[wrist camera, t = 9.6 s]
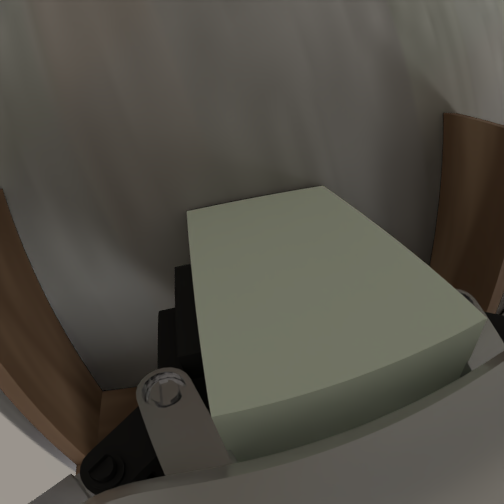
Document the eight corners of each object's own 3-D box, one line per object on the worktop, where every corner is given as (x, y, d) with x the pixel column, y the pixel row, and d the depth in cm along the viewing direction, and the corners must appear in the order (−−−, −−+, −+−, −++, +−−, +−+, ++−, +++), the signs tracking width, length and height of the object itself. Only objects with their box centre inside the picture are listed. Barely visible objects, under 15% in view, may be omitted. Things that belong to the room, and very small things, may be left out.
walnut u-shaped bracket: (457, 113, 11) (547, 140, 7) (428, 320, 17) (477, 374, 13) (-16, 196, 9) (-94, 261, 4) (95, 404, 15) (89, 485, 10)
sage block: (323, 185, 12) (486, 317, 5) (325, 294, 14) (422, 443, 7) (186, 211, 11) (211, 416, 4) (213, 322, 13) (254, 504, 6)
